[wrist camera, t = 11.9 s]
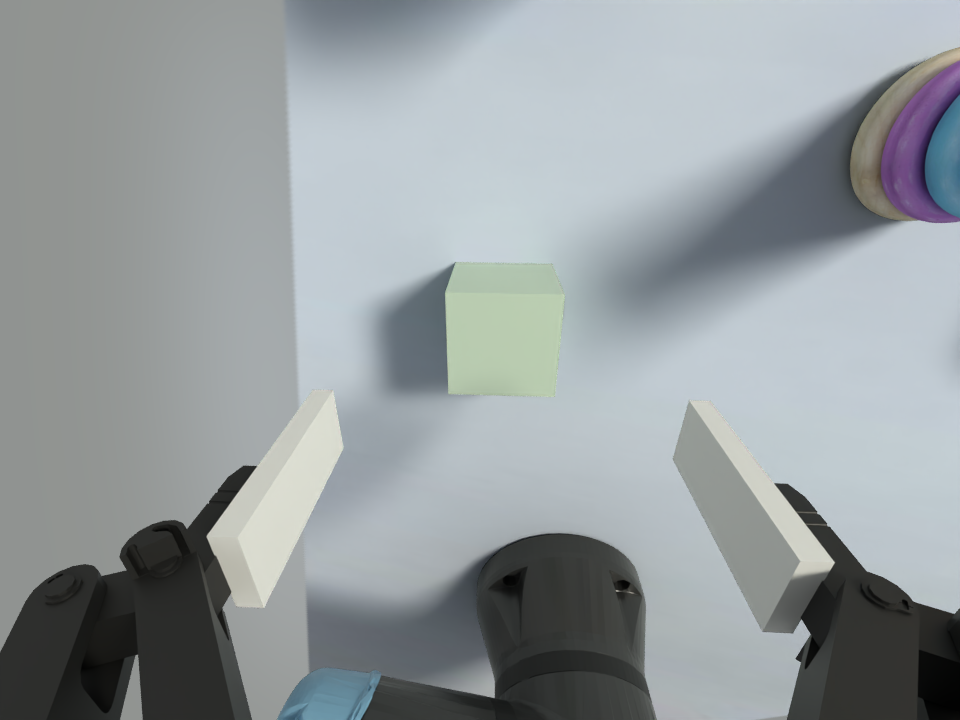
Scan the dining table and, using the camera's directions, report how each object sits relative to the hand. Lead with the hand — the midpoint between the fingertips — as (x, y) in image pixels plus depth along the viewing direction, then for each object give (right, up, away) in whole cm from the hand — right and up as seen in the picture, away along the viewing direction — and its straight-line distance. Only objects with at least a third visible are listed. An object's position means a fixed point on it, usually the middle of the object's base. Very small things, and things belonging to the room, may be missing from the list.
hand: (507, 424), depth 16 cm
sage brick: (0, +6, +12) cm, 13 cm away
